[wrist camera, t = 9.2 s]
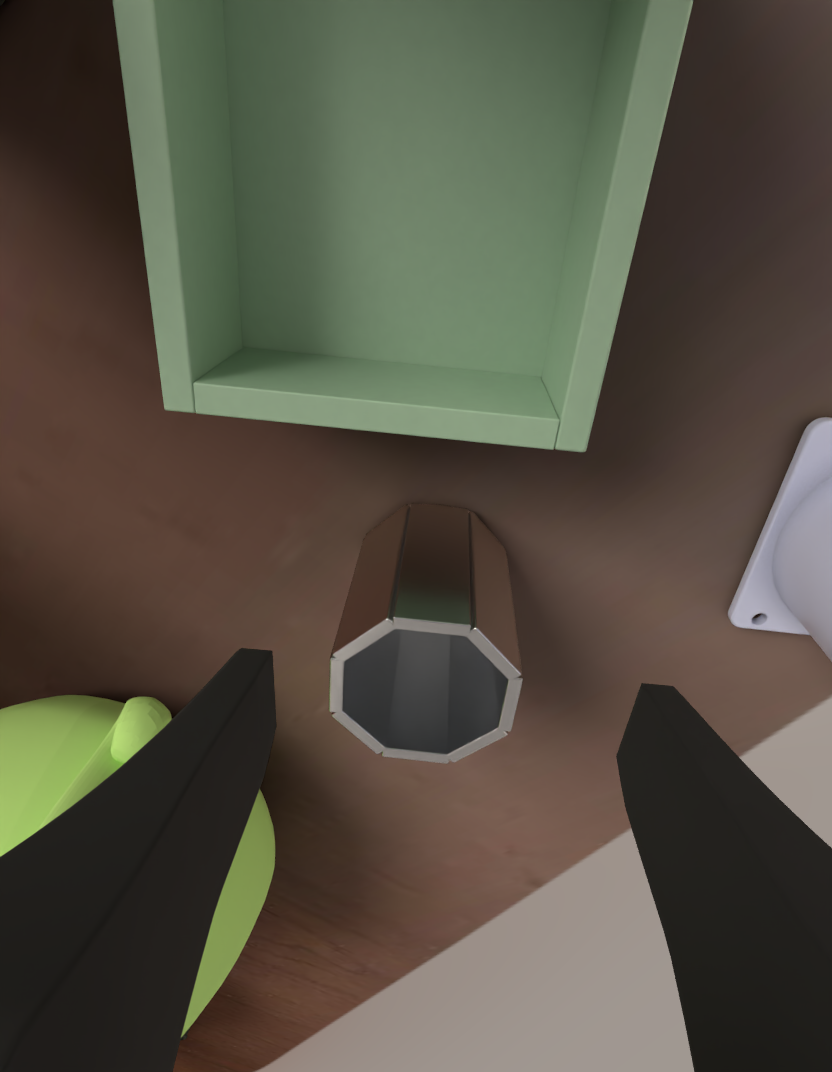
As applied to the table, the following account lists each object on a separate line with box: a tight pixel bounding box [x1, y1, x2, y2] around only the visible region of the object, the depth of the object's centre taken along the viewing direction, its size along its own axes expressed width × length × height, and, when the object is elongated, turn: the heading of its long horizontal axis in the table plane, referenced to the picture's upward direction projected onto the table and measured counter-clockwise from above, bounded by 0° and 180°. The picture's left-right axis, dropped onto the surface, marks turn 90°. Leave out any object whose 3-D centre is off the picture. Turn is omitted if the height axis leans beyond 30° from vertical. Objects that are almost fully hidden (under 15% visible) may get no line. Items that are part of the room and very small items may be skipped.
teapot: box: [0, 695, 275, 1037], centre depth 24 cm, size 22×15×13 cm
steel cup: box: [329, 503, 523, 764], centre depth 20 cm, size 5×5×7 cm
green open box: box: [113, 0, 694, 452], centre depth 14 cm, size 13×11×5 cm
